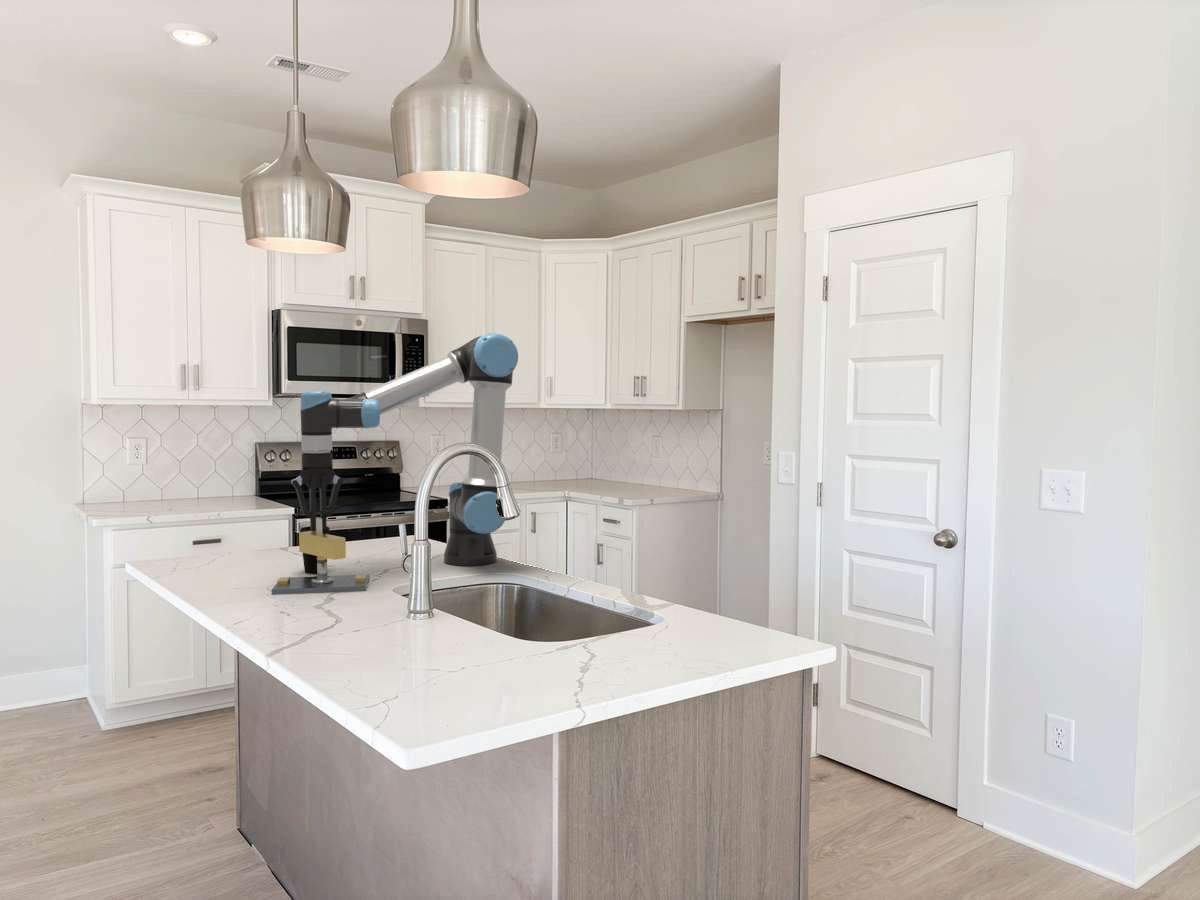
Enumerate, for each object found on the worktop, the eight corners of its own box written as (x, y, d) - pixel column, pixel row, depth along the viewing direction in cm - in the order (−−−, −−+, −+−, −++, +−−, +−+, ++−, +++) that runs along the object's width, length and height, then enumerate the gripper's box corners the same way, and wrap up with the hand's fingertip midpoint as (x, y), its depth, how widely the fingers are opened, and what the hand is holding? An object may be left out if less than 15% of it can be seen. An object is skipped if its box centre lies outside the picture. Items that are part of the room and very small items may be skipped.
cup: (324, 574, 235) (324, 530, 234) (296, 574, 235) (295, 530, 234) (334, 569, 243) (333, 526, 242) (306, 569, 243) (305, 525, 242)
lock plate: (369, 578, 230) (369, 556, 230) (365, 590, 216) (365, 566, 216) (281, 582, 226) (280, 559, 225) (271, 594, 212) (271, 569, 212)
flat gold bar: (310, 556, 227) (310, 530, 227) (345, 564, 216) (345, 537, 216) (299, 558, 225) (299, 532, 224) (334, 566, 214) (333, 539, 214)
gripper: (340, 450, 231) (341, 539, 232) (288, 451, 225) (290, 542, 227) (345, 451, 224) (347, 543, 226) (292, 453, 218) (294, 547, 220)
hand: (318, 543), depth 226 cm, fingers closed
